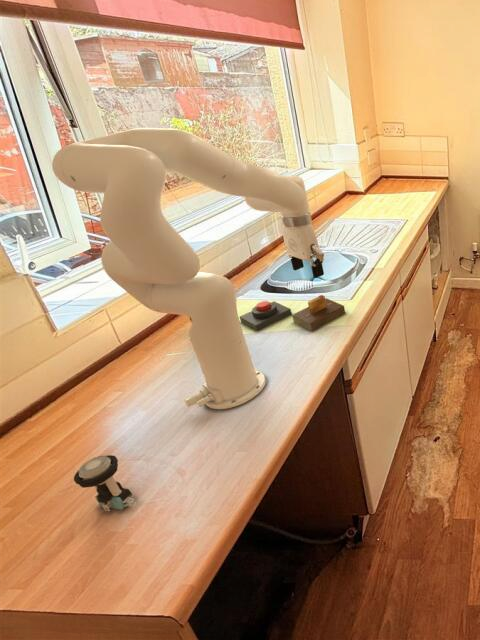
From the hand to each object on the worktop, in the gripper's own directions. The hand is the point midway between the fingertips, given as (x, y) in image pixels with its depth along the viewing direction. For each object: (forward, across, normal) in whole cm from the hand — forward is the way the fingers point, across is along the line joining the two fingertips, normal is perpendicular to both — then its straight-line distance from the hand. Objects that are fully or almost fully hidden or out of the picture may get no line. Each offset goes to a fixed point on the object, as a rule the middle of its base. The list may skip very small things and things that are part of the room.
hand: (308, 272), depth 122 cm
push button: (+15, +24, -58) cm, 65 cm away
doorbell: (+16, -12, -10) cm, 22 cm away
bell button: (+12, -12, -9) cm, 20 cm away
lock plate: (+16, +2, -1) cm, 16 cm away
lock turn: (+13, +2, -1) cm, 13 cm away
